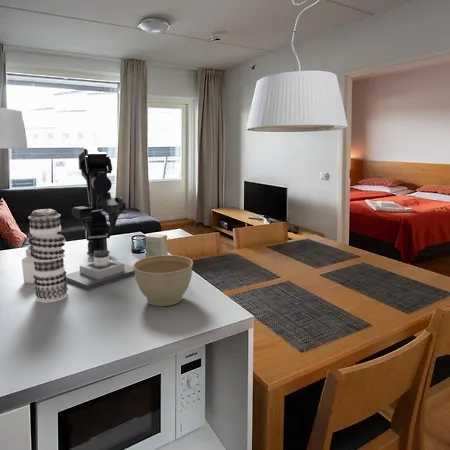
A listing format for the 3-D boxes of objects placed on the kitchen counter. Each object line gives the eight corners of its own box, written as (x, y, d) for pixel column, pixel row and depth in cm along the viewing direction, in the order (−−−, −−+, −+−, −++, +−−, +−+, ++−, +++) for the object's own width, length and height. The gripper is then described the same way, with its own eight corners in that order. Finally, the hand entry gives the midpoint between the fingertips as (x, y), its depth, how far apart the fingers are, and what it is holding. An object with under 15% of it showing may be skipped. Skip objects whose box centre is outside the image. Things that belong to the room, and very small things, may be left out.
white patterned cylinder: (56, 288, 114) (48, 206, 108) (76, 294, 109) (69, 209, 104) (27, 298, 106) (17, 211, 101) (48, 305, 101) (39, 214, 96)
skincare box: (168, 268, 132) (167, 234, 130) (162, 272, 128) (161, 237, 126) (152, 266, 134) (151, 233, 132) (146, 270, 130) (144, 236, 128)
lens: (104, 268, 127) (103, 248, 126) (113, 271, 124) (111, 251, 123) (91, 272, 124) (90, 251, 122) (100, 275, 121) (99, 254, 119)
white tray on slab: (114, 264, 136) (114, 254, 135) (140, 272, 128) (140, 261, 127) (62, 280, 121) (61, 268, 120) (88, 290, 112) (87, 277, 111)
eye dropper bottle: (29, 286, 115) (25, 248, 113) (22, 281, 119) (18, 245, 116) (44, 282, 118) (40, 245, 116) (37, 278, 122) (33, 242, 120)
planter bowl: (172, 285, 117) (171, 251, 115) (204, 301, 105) (204, 264, 103) (124, 298, 107) (122, 261, 104) (154, 318, 95) (153, 277, 92)
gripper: (88, 194, 119) (91, 242, 122) (135, 188, 133) (137, 231, 137) (69, 191, 125) (72, 236, 129) (115, 185, 140) (117, 226, 143)
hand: (101, 232), depth 134 cm, fingers open, 9 cm apart
